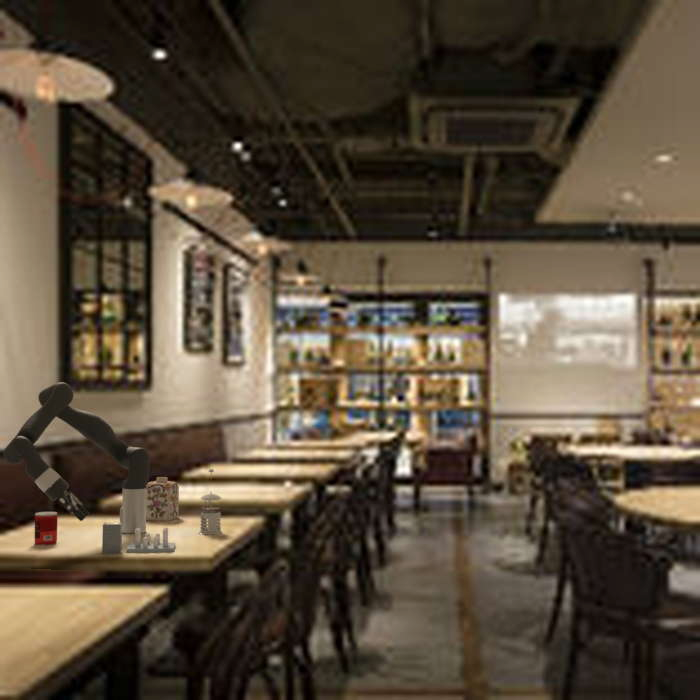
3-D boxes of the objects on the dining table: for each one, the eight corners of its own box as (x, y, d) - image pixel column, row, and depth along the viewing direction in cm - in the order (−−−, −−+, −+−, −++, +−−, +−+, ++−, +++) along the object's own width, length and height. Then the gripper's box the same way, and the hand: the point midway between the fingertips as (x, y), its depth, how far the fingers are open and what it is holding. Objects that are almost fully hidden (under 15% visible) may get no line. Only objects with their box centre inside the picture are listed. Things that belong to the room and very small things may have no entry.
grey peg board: (126, 552, 331) (126, 531, 331) (130, 546, 343) (130, 526, 343) (173, 551, 333) (173, 530, 333) (175, 545, 345) (175, 525, 345)
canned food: (61, 542, 351) (61, 512, 351) (47, 545, 343) (48, 515, 344) (43, 541, 353) (44, 511, 354) (29, 544, 346) (30, 513, 346)
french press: (202, 535, 368) (203, 470, 369) (193, 531, 379) (193, 468, 380) (226, 534, 373) (227, 469, 374) (216, 529, 383) (217, 467, 384)
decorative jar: (143, 520, 407) (144, 478, 408) (153, 516, 419) (154, 475, 419) (170, 521, 405) (170, 478, 406) (179, 517, 417) (180, 476, 417)
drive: (102, 554, 327) (102, 524, 328) (104, 551, 332) (104, 522, 333) (120, 553, 328) (120, 524, 328) (121, 551, 333) (122, 522, 333)
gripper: (47, 489, 335) (80, 521, 336) (39, 494, 321) (74, 528, 322) (63, 473, 336) (96, 506, 337) (56, 478, 321) (90, 512, 323)
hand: (85, 517), depth 329 cm, fingers open, 8 cm apart
